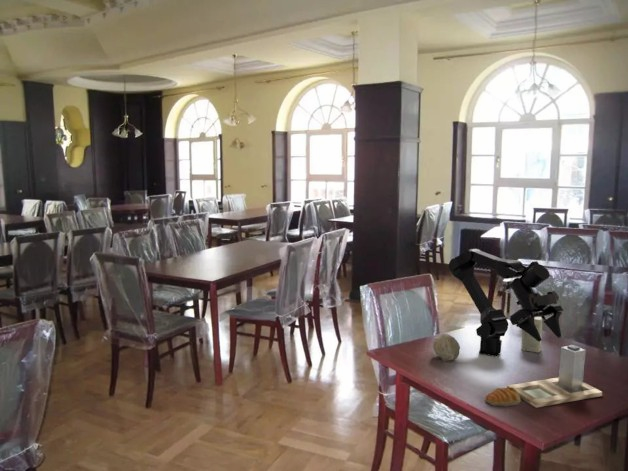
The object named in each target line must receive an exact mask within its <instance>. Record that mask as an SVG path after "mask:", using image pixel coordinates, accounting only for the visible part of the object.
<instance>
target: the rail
mask: <svg viewBox="0 0 628 471" xmlns="http://www.w3.org/2000/svg"><path fill="white" fill-rule="evenodd" d="M558 380H559V376H558V377H553V378H546V379H539V380H533V381H528V382H521V383H514V384H507V385H506V388H507V387H512V388H514V389H516V390H517V392H518V395H519V396H520V400H523V401H524V402H527V404H529V405H531V406H533V407H535V408H542V407H546V406H552V405H559V404H564V403H569V402H575V401H580V400H582V401H583V400H585V399H592V398H598V397H603V391H601V390H600V389H598V388H596V387H593V386H592V385H590V384H588V383H586V382H583V384H582V391H580V392H574V393H569V392H567V391H565V390H564V389H562V388H560V387H558Z"/></svg>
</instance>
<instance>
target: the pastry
mask: <svg viewBox="0 0 628 471" xmlns="http://www.w3.org/2000/svg"><path fill="white" fill-rule="evenodd" d="M485 397H486V398H485V402H487V403H488V404H490V405H492V406H495V407H497V406H500V407H510V406H517V405H520V404H521V401H522V399H521V398H520V396H519V395H518V392H517V390H516V389H514V388H512V387H507V386H506V387H501V388H500V387H499V388H495V390H493V391H490V392H489V393H488V394H486V396H485Z"/></svg>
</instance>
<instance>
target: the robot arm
mask: <svg viewBox="0 0 628 471" xmlns="http://www.w3.org/2000/svg"><path fill="white" fill-rule="evenodd" d="M477 264H479V265H482V266H484V267H486V268H489V269H492V270H494V271H495V274H496V275H498V276H499V277H501V278H502V279H504V280H505V279H506V280H508V279H512V280H510V281H507V282H506V286H505V290H506V291H507V290H512V292H513V293H514V295H515V297H516V299H517V301H516V302H515V303H516V305H517V306H521V308H522V309H518V310H517V311H515V312H514V313H513V314H511V315H510V317H509V321H510V323H511V325H512V326H516V327H517V328H520V330H521V331H522V330H524V331H525V332H527V333H528V334H529V335H531V336H532V337H533V338H535V339H536V340H537V341H541V340H543V338H542V339H541V337H540V334H539V332H538V330H537V328H536V326H535V324H534V318H535V317H542V319H543V321H542V323H544V324H545V325H546V326H547V327H548V328H549V330H550V331H551V332H552V333H553V334H554V335H555V336H556V337H557V338H558V339H561V337H562V331H561V327H560V320H559V319H560V316H562V314H563V312H564V309H563V307H562V305H560V304H558V301H559V298H560V297H559V295H558V293H557V292H556V291H555V290H553V291H552V290H551V291H547V293H546V294H540V292H535V290H534V289H535V288H537V287H539V286H540V285H541V284H543V283H544V282H546V280H548V279H549V278H550V272H549V270H548V268H546V267H545V266H543V265H542V264H540V263H539V262H538V261H537V260H536V261H532V262H530V263H529V265H528V266H526V265H524V264H523V262H522V261H520V260H516V259H508V258H507V259H505V258H500V257H498V256H496V255H493V254H490V253H487V252H485V251H482V250H481V249H479V248H468V249H467V250H465V251H464V252H462V253H461V254H458V255H457V256H455V257H454V258H451V259H450V261H449V263H448V269H449V271H450V273H451V274H452V275H453V277H454V278H456V279H457V280H459V281H460V282H461V283H462V284H463V286H464V288H465V289H466V291H467V293H468V295H469V297H471V300H472V302H473V303H474V305H475V307H476V309H477V310H478V313H479V314H480V319H479V322H480V325H479V327H477V328H476V329H475V332H476V335H477V336H478V337H480V341H479V342H480V346H479V351H478V353H479V354H481V355H487V356H491V357H499V355H500V354H501V352H502V344H503V343H502V340H501V337H504V336H505V335H506V333H507V332H508V329H509V324H510V323H509V322H508V317H506V315H505V313H504V311H503V310H502V309H501V308H500V309H496V308H494V306H493V304H492V303H491V301H490V299H489V298H488V297H487V295H486V293H485V291H484V290H483V288H482V287H481V284H480V283H479V281H478V280H477V278H476V276H475V265H477ZM541 342H542V341H541Z"/></svg>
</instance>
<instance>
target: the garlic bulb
mask: <svg viewBox="0 0 628 471" xmlns="http://www.w3.org/2000/svg"><path fill="white" fill-rule="evenodd" d="M432 343H433V346H432V347H433V350H434V353H435V355H436V356H438V357H439V358H440V359H441V360H443V361H446V362H450V361H455V360H457V358H458V357H459V356H460V349H461V345H460V343H459V342H458V341H457V339H456V338H455V337H454V336H452V335H451V334H447V333H442V334H440V335H438V336H437V337H435V339H434V341H433V342H432Z"/></svg>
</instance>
